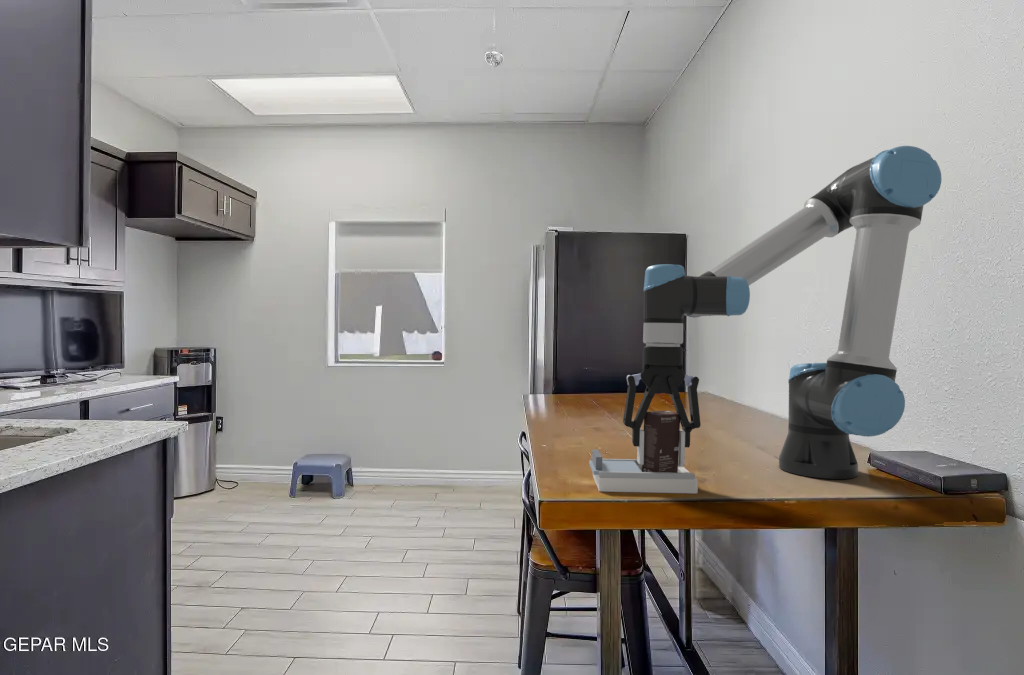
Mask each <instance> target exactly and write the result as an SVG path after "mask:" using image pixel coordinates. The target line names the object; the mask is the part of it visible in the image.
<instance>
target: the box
mask: <svg viewBox="0 0 1024 675" xmlns="http://www.w3.org/2000/svg"><path fill="white" fill-rule="evenodd" d="M680 429H681V423H680V417H679V414H678V413H677V412H676V411H669V410H665V409H664V410H653V411H647V413H646V415H645V418H644V420H643V430H644V465H642V472H667V473H678V454H679V432H680Z"/></svg>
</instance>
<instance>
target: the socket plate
mask: <svg viewBox="0 0 1024 675" xmlns="http://www.w3.org/2000/svg"><path fill="white" fill-rule="evenodd" d="M602 460H603V461H634V462H635V463H636V465H637V466H638V467H639V469H640V470H641V471H642V465H640V464H639V463H638V462H637V458H636V459H635V458H633V459H632V458H602ZM695 475H696V474H695V473H694V472H690V471H689V470H688V469H686V467H685V466H680V465H679V464H678V473H667V472H620V471H599V475H594V474H593V473H592V477H593V480H594V482H595V485H596V487H597V489H598V492H605V493H606V492H612V493H613V492H614V493H617V492H618V493H655V494H656V493H658V494H659V493H660V494H661V493H663V494H698V492H699V491H698V490H699V489H698V488H699V480H698V479H697V477H695Z"/></svg>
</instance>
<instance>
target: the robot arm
mask: <svg viewBox="0 0 1024 675" xmlns="http://www.w3.org/2000/svg"><path fill="white" fill-rule="evenodd" d="M941 184H942V171H941V168H940V166H939V164H938V162H937V161H936V160H935V159H934V158H933V157H932V155H931V154H930V153H929V152H927V151H926V150H924V149H922V148H920V147H918V146H913V145H900V146H896V147H893V148H890V149H887V150H886V149H885V150H883V151H881V152H879V153H878V154H876V155H875V156H874V157H871V158H869V159H868V160H864V161H863V162H861V163H859V164H856V165H854V166H852V167H850V168H848V169H847V170H845V171H843V173H842V174H840V175H839V176H838V177H836V178H835V179H834V180H832V181H831V182H830V183H829V184H828V185H826V186H825V187H823V188H822V189H820V191H819V192H817V193H815V194H814V195H812V196H811V197H810V198H808V199H807V200H805V202H804V205H803V208H801V209H800V210H798V211H796V212H795V213H794V214H793V215H791V216H790V217H787V219H786V218H785V220H783V221H781V222H780V223H778V224H777V225H776V226H774V227H772V228H771V229H769V230H768V231H765V233H763V234H762V235H760V236H758V237H757V238H756V239H754V240H752V241H751V242H750V243H748V244H746V245H745V246H744V247H741V248H740V249H739V250H737V251H735V252H734V253H733V254H731V255H730V256H727V258H725V259H724V260H722V261H720V262H719V263H717V264H716V265H714V266H713V267H711V268H709V269H708V270H706V272H704V273H702V274H701V275H699V276H692V275H686V271H685V267H684V266H683V265H681V264H671V263H669V264H668V263H666V264H664V263H663V264H654V265H650V266H648V267H647V268H646V269H645V272H644V283H643V288H642V289H643V331H642V332H643V334H642V336H643V337H642V342H643V344H645V345H644V346H643V348H642V368H641V370H640V372H639V373H637V374H632V375H631V374H626V377H625V380H626V384H627V389H626V390H627V391H626V392H627V393H626V399H625V405H624V411H623V412H624V413H623V418H622V419H623V420H622V423H623V425H624V426H625V427H627V428H630V429H632V430H631V431H632V437H631V438H632V439H631V442H632V445H633V447H636V449H637V455H636V459H637V462H638V463H639V464H640V465H644V428H642V425H643V424H644V418H645V415H646V413H647V412H648V410H649V408H650V405H651V403H652V400H653V399H654V397H655V394H656V395H657V394H658V395H659V394H666V395H669V396H670V398H671V402H672V404H673V406H674V409H675V412H676V413H678V414H679V417H680V427H681V428H680V432H679V454H678V464H679V465H680V466H683V467H685V462H686V461H685V458H686V456H685V453H686V448H690V446H691V432H692V431H693V430H694V429H699V428H701V426H702V425H701V414H700V407H699V395H698V388H699V387H698V386H699V383H700V378H699V377H698V376H695V375H688V374H686V373H685V371H684V369H683V367H684V366H683V365H684V364H683V359H684V358H683V357H684V348H683V347H682V346H681V345H682V344H683V343H684V317H685V316H686V317H689V318H694V319H696V318H700V317H712V316H713V317H714V316H722V317H723V316H727V317H730V316H742V315H743V314H745V313H746V311H747V310H748V307H749V304H750V299H751V298H750V297H751V290H750V286H751V285H753V284H754V283H756V282H757V281H758V280H760V279H762V278H763V277H765V276H766V275H768V274H770V273H771V272H772V271H774V270H776V269H777V268H778V267H780V266H782V265H783V264H785V263H787V262H788V261H789V260H791V259H792V258H794V257H796V256H798V255H799V254H801V253H802V252H804V251H805V250H807V249H808V248H810V247H812V246H813V245H815V244H816V243H817V242H819V241H820V240H823V239H824V238H834V237H835V236H837V235H839V234H840V233H843V232H844V231H845V230H848V229H850V228H852V227H853V228H854V229H855V232H856V233H855V239H854V246H853V252H852V257H851V258H852V259H851V265H850V271H849V277H848V283H847V289H846V295H845V302H844V310H843V315H842V321H841V325H840V326H841V327H840V335H839V340H838V347H837V350H836V352H835V353H834V354H832V355H831V356H829V357H828V358H827V359H826V362H812V363H811V362H810V363H798V364H797V363H796V364H795V365H793V366H791V368H790V370H789V377H788V429H787V430H788V432H787V435H786V437H785V440H784V443H783V444H782V448H781V451H780V453H779V457H778V467H779V468H780V469H781V470H782V471H785V472H788V473H791V474H793V475H794V474H795V475H799V476H804V477H811V478H818V479H827V480H828V479H829V480H831V479H832V480H844V479H847V480H848V479H854V478H857V477H858V475H859V464H858V460H857V458H856V454H855V451H854V449H853V446H852V443H851V439H850V435H852V436H859V437H860V436H861V437H869V438H870V437H876V436H880V435H883V434H885V433H887V432H889V431H890V430H892V429H893V428H895V427H896V426H897V424H898V423H899V422H900V420H901V419H902V416H903V414H904V411H905V407H906V399H905V395H904V392H903V390H901V388H900V385H898V383H897V382H896V377H897V370H898V367H896V365H895V364H894V363H893V362H892V361H891V359H890V353H891V348H892V347H891V346H892V342H893V334H894V329H895V328H894V327H895V322H896V317H897V316H896V315H897V309H898V304H899V298H900V292H901V286H902V280H903V274H904V267H905V262H906V261H905V260H906V255H907V249H908V242H909V235H910V233H911V231H913V230H915V229H916V228H917V227H919V226H920V225H921V222H922V216H923V211H924V205H926V204H928V203H930V202H931V201H932V200H933V199H934V198H935V197H936V196H937V195H938V193H939V191H940V189H941ZM640 380H641V381H642V382H643V383H644V385H645V387H646V388H645V390H644V393H643V396H642V399H641V402H640V403H639V404H640V405H639V407H638V410H637V411H636V414H635V417H634V419H633V412H634V406H635V400H636V394H637V386H638V385H639V384H640ZM683 381H684V382H685V384H684V385H685V386H686V387H687V398H688V409H689V417H690V418H688V416H687V412H686V410H685V408H684V405H683V402H682V399H681V398H682V397H681V394H680V392H679V389H678V387H680V385H681V384H682V383H683ZM632 419H633V420H632ZM689 419H690V421H689Z"/></svg>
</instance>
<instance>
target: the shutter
mask: <svg viewBox="0 0 1024 675" xmlns="http://www.w3.org/2000/svg"><path fill="white" fill-rule="evenodd" d="M591 451H592V454H591V455H592V456H591V459H590V460H589V461H588V465H589V468H590V470H591V472H592V475H593V474H594V475H599V471H620V472H642V471H641V470H640V469H639V467H638V466H637V465H636V463H635V462H634V461H603V460H602V459H603V456H602V454H601V452H600V450H599V449H592V450H591Z"/></svg>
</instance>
